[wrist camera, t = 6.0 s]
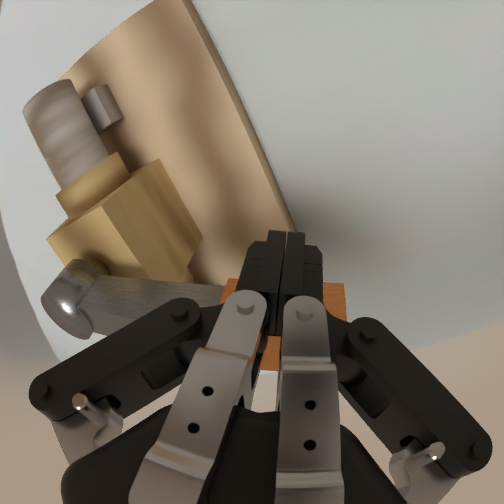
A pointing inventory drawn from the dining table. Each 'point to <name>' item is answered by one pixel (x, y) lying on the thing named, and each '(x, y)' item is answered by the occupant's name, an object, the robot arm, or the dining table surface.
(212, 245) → the valve board
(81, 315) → the valve lever
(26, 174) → the dining table surface
